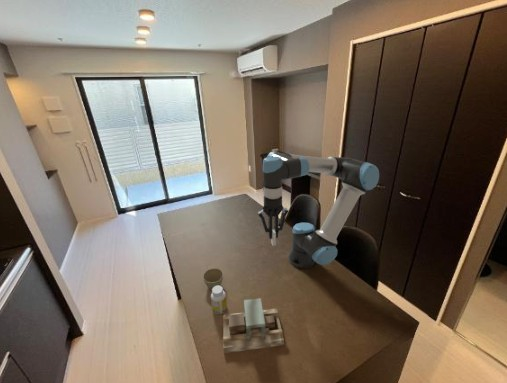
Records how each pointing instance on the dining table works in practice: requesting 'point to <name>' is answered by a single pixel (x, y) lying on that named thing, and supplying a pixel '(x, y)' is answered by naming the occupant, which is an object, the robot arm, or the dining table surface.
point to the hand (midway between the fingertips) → (273, 243)
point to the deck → (253, 337)
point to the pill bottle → (218, 300)
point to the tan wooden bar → (239, 323)
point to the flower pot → (213, 277)
